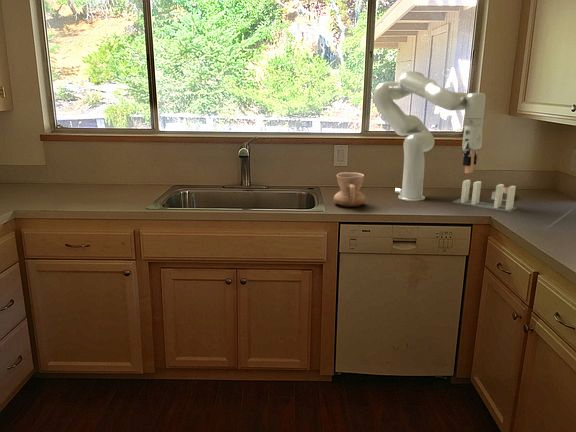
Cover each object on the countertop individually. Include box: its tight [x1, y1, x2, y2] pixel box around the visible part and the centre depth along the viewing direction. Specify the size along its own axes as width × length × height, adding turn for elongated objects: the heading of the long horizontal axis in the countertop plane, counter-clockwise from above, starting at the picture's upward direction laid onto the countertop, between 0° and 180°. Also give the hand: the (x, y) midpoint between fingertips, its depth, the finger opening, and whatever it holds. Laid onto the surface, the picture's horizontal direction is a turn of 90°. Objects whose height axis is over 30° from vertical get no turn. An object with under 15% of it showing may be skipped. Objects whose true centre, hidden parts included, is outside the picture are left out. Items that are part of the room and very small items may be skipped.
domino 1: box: [464, 150, 475, 174], centre depth 202 cm, size 2×5×10 cm, turn 136°
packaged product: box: [490, 186, 509, 202], centre depth 227 cm, size 18×5×10 cm
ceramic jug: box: [333, 172, 366, 208], centre depth 209 cm, size 18×14×14 cm
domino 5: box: [505, 185, 517, 210], centre depth 203 cm, size 2×5×10 cm, turn 138°
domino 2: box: [460, 179, 471, 203], centre depth 216 cm, size 2×5×10 cm, turn 137°
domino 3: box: [471, 180, 482, 204], centre depth 212 cm, size 2×5×10 cm, turn 137°
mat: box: [452, 197, 518, 213], centre depth 211 cm, size 26×10×1 cm, turn 47°
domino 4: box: [493, 183, 505, 208], centre depth 206 cm, size 2×5×10 cm, turn 137°
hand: (469, 164), depth 202 cm, fingers closed on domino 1, 4 cm apart
